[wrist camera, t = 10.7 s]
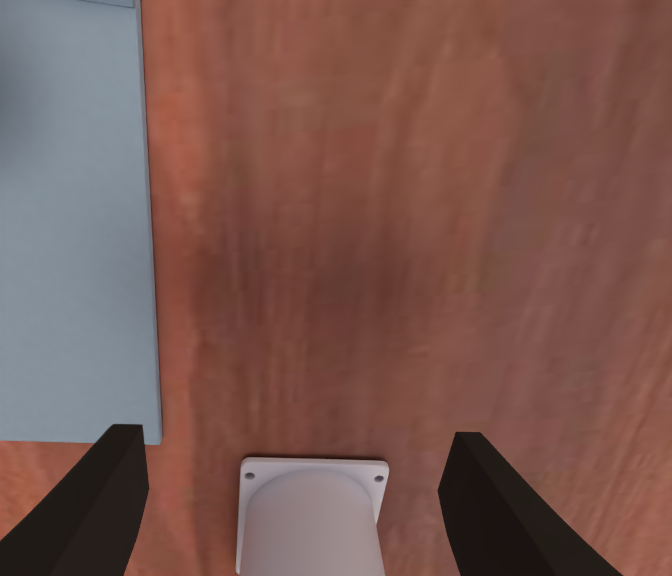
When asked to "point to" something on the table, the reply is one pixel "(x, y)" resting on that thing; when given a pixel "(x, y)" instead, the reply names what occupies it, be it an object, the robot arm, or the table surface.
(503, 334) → the table surface
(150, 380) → the blue lipped board
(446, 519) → the robot arm
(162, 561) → the table surface
